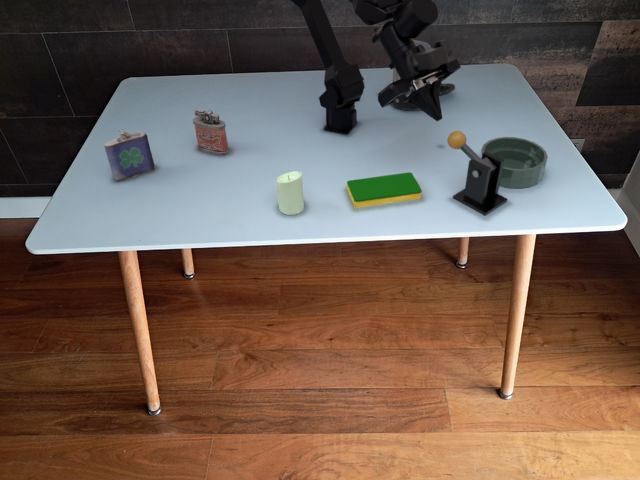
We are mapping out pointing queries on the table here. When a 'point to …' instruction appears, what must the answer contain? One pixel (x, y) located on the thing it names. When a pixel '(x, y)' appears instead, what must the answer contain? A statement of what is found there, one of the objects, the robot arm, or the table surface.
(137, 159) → the flask
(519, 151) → the basin
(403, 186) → the dish sponge
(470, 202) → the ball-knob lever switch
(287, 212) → the candle
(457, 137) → the tap lever
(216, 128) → the lighter
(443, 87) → the milk frother
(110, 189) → the table surface
